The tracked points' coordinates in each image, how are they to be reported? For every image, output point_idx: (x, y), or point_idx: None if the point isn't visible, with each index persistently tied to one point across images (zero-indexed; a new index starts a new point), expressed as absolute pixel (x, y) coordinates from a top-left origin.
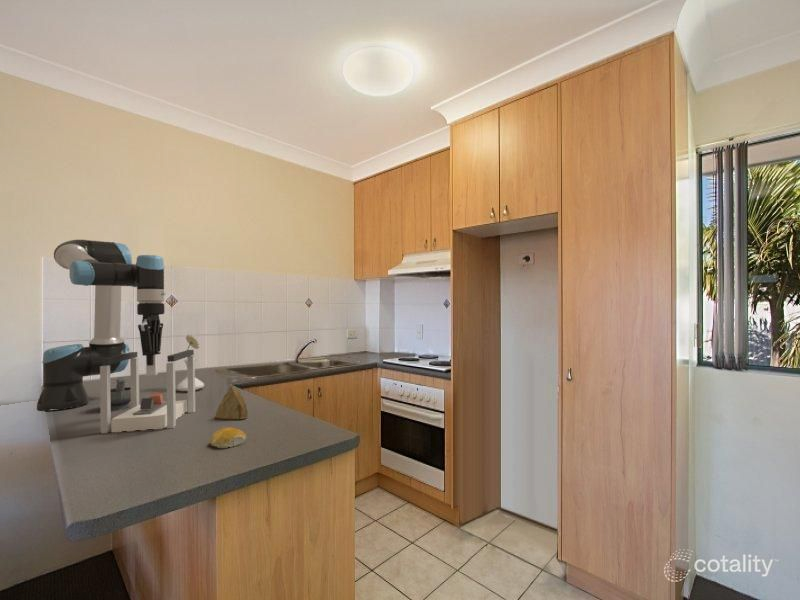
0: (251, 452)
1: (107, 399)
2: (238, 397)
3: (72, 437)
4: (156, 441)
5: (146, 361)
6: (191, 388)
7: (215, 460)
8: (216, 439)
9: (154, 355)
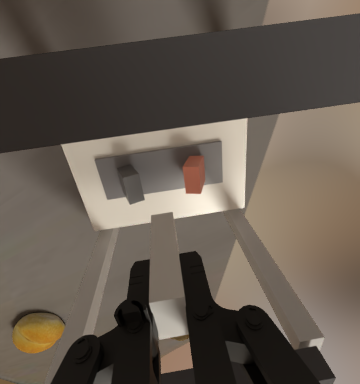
0: (13, 353)
1: None
2: None
3: (11, 17)
4: (27, 242)
5: (150, 268)
6: (242, 245)
7: None
8: (18, 330)
9: (159, 334)
